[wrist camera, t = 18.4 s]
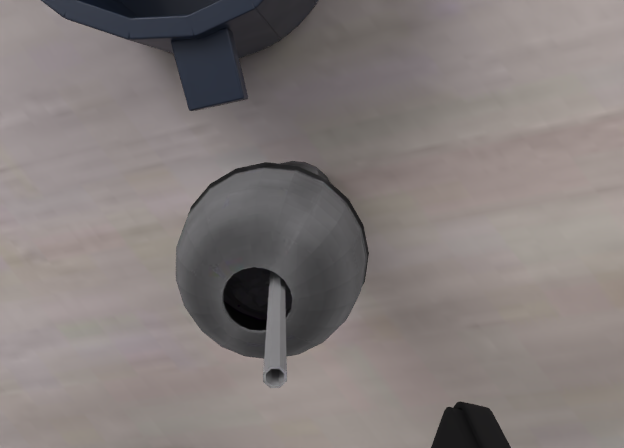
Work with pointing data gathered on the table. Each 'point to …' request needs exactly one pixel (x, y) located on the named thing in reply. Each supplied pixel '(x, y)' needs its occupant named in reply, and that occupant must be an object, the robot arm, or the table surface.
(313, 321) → the beverage cup
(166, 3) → the pot
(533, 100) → the table surface
